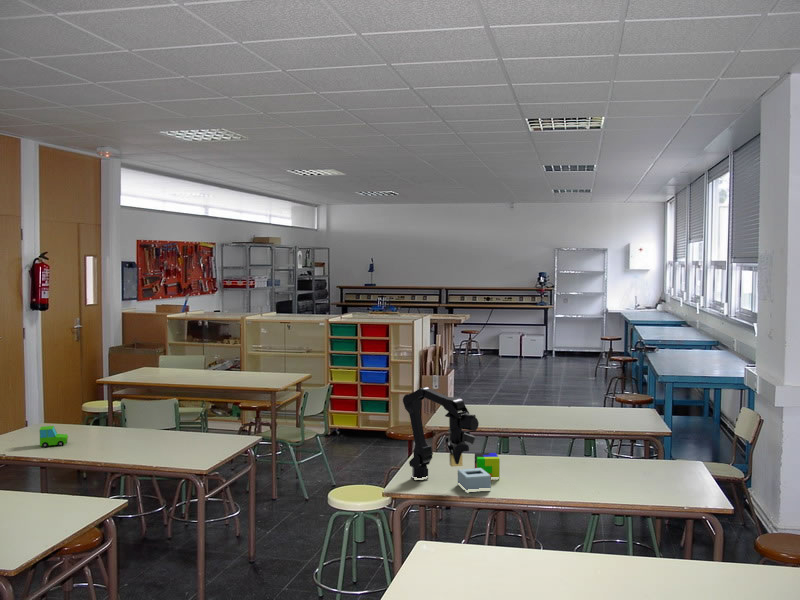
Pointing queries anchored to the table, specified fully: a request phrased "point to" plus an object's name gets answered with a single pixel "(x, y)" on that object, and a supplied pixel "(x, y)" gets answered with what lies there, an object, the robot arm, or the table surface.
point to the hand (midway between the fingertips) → (456, 462)
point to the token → (452, 461)
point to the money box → (474, 478)
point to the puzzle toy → (488, 463)
